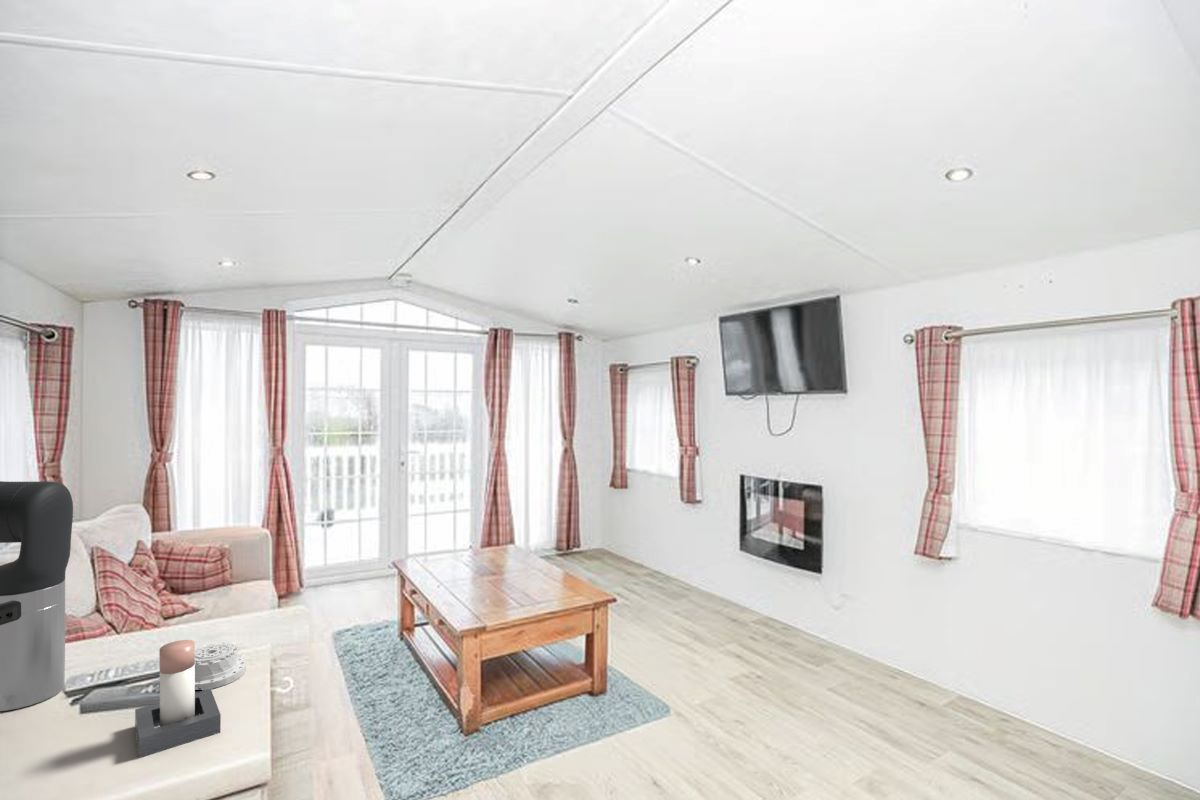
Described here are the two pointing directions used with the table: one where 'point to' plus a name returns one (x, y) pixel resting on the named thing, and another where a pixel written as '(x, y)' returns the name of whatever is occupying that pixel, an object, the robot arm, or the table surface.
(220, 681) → the mechanical component
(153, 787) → the table surface
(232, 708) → the table surface
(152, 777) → the table surface
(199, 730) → the socket
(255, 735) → the table surface
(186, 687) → the peg
